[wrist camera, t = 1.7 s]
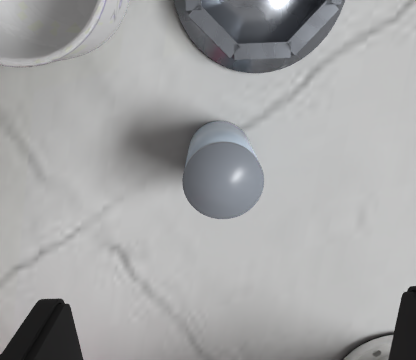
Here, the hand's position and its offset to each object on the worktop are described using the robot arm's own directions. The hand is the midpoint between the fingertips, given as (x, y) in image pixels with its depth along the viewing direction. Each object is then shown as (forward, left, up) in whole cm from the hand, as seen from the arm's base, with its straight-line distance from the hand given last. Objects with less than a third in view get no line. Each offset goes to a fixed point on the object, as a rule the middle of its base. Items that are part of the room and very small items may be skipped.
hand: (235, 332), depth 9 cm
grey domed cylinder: (0, 0, -19) cm, 19 cm away
